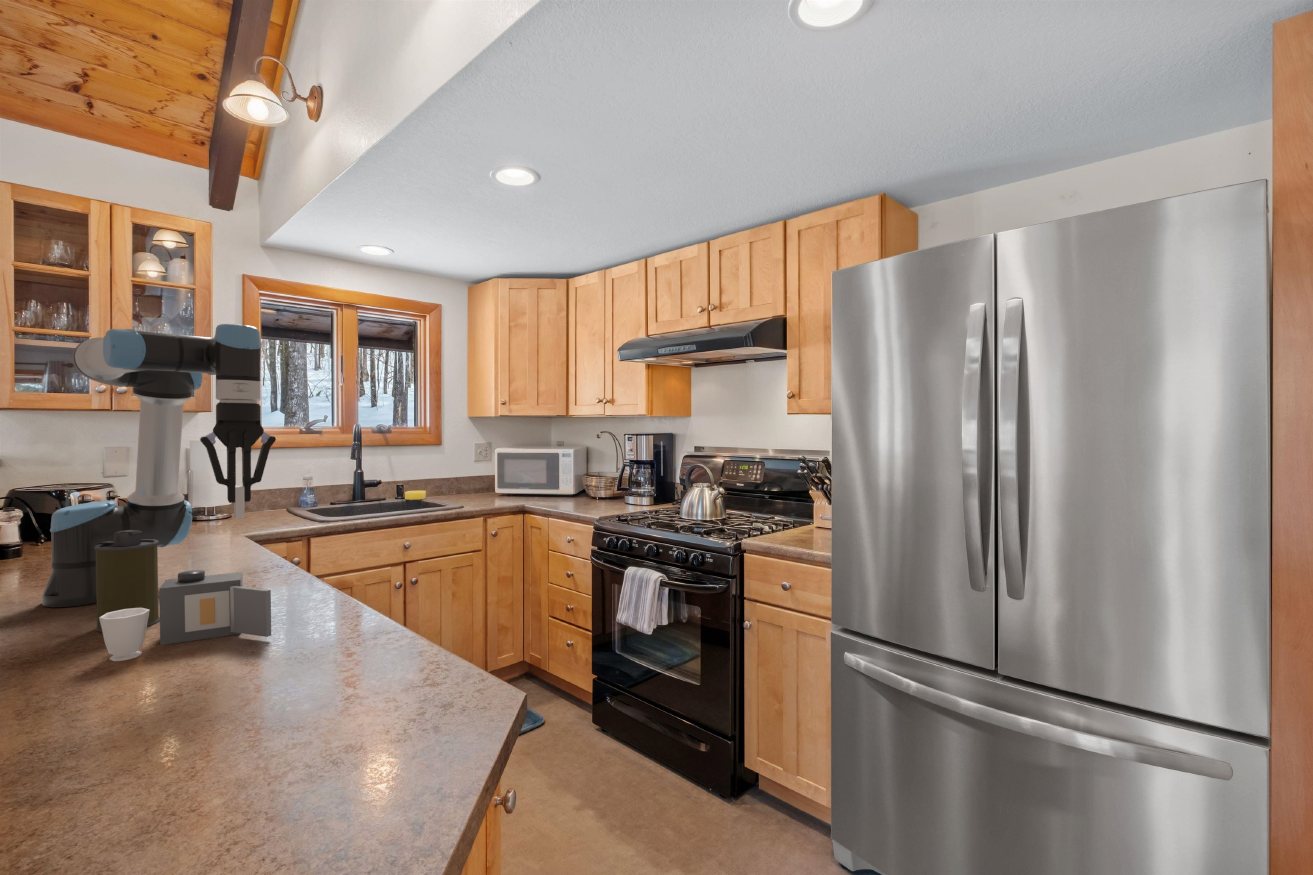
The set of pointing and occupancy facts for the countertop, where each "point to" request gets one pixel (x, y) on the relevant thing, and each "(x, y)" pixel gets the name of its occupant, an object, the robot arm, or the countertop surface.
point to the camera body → (196, 606)
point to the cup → (124, 632)
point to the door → (250, 610)
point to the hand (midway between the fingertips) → (239, 518)
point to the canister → (127, 575)
